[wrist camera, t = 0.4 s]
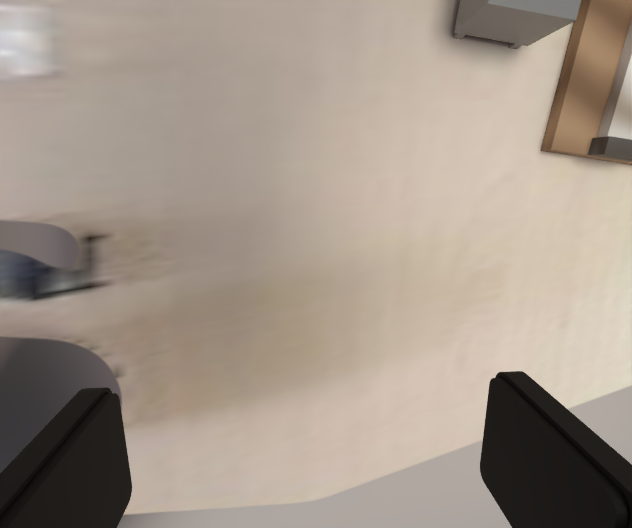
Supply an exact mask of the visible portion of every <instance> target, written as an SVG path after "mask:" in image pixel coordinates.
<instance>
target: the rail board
mask: <svg viewBox="0 0 632 528" xmlns="http://www.w3.org/2000/svg"><path fill="white" fill-rule="evenodd" d="M541 151H548V152H554V153H561V154H567V155H574V156H580V157H587V158H593V159H600V160H606V161H613V162H619V163H626V164H632V0H581V3H580V7H579V11H578V15H577V18H576V21H575V22H574V25H573V29H572V33H571V37H570V41H569V45H568V49H567V52H566V56H565V60H564V64H563V68H562V72H561V75H560V79H559V83H558V87H557V91H556V95H555V98H554V102H553V106H552V110H551V114H550V118H549V122H548V125H547V129H546V133H545V137H544V141H543V145H542V148H541Z"/></svg>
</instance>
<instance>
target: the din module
mask: <svg viewBox="0 0 632 528" xmlns="http://www.w3.org/2000/svg"><path fill="white" fill-rule="evenodd" d="M580 3H581V0H460V4H459V9H458V14H457V19H456V24H455V29H454V38H458V39H461V38H463V37H464V36H465V35H470V36H476V37H481V38H487V39H492V40H498V41H503V42H509V43H510V44H509V48H514V49H517V48H518V47H520V46H522V45H525V46H528V45H530V44H532V43H534V42H536V41H538V40H540V39H541V38H543V37H545V36H547V35H549V34H551V33H553V32H555V31H557V30H558V29H560V28H562V27H564V26H566V25H568V24H570V23H572V22H574V21H576V18H577V15H578V11H579V7H580Z"/></svg>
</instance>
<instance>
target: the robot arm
mask: <svg viewBox="0 0 632 528" xmlns="http://www.w3.org/2000/svg"><path fill="white" fill-rule="evenodd" d="M480 472H481V476H482V479H483V481H484V483H485V484H486V486H487V488H488V489H489V491H490V492H491V494H492V496H493V497H494V499H495V500H496V502H497V504H498V505H499V507H500V509H501V510H502V512H503V513H504V515H505V517H506V518H507V520H508V521H509V523H510V525H511V526H512V528H632V465H631V464H630V463H629V462H628V461H627V460H625V459H624V458H623V457H622V456H621V455H620V454H618V453H617V452H616V451H615V450H614V449H613V448H612V447H610V446H609V445H608V444H607V443H606V442H604V440H602V439H601V438H600V437H599V436H598V435H596V434H595V433H594V432H593V431H592V430H591V429H590V428H588V427H587V426H586V425H585V424H584V423H583V422H581V421H580V420H579V419H578V418H577V417H576V416H574V415H573V414H572V413H571V412H570V411H569V410H567V409H566V408H565V407H564V406H563V405H562V404H561V403H559V402H558V401H557V400H556V399H555V398H554V397H552V396H551V395H550V394H549V393H548V392H547V391H545V390H544V389H543V388H542V387H541V386H540V385H538V384H537V383H536V382H535V381H534V380H533V379H531V378H530V377H529V376H528V375H527V374H526V373H524V372H521V371H517V372H499V373H498V374H497V375H496V378H493V379H491V381H490V385H489V394H488V402H487V411H486V419H485V427H484V436H483V444H482V453H481V461H480ZM131 492H132V482H131V476H130V469H129V462H128V455H127V448H126V441H125V434H124V427H123V421H122V414H121V407H120V400H119V396H118V395H117V394H116V393H115V394H112V391H111V390H110V389H109V388H86V389H82V390H80V391H79V392H78V393H77V394H76V395H75V396H74V397H73V398H72V399H71V400H70V401H69V402H68V404H66V406H65V407H64V408H63V409H62V410H61V411H60V412H59V413H58V414H57V415H56V416H55V417H54V418H53V419H52V420H51V421H50V422H49V423H48V425H46V426H45V428H44V429H43V430H42V431H41V432H40V433H39V434H38V435H37V436H36V437H35V438H34V439H33V440H32V441H31V442H30V443H29V444H28V445H27V446H26V447H25V448H24V449H23V450H22V452H21V453H20V454H19V455H18V456H17V457H16V458H15V459H14V460H13V461H12V462H11V463H10V464H9V465H8V466H7V467H6V468H5V469H4V470H3V472H1V473H0V528H117V526H118V524H119V522H120V520H121V518H122V516H123V514H124V511H125V509H126V507H127V505H128V503H129V501H130V497H131Z"/></svg>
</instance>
